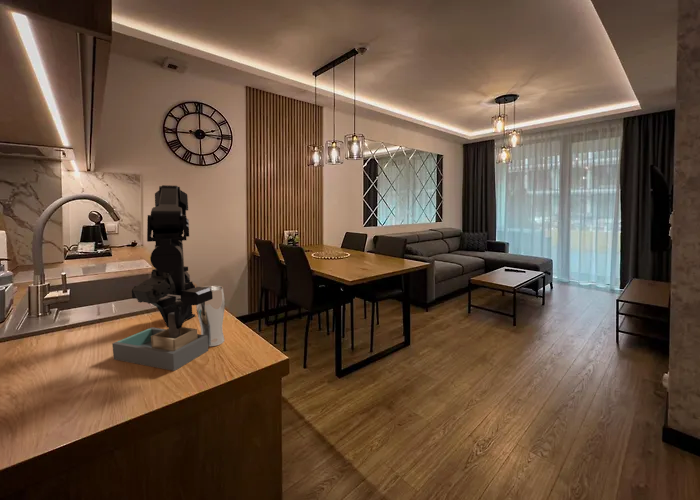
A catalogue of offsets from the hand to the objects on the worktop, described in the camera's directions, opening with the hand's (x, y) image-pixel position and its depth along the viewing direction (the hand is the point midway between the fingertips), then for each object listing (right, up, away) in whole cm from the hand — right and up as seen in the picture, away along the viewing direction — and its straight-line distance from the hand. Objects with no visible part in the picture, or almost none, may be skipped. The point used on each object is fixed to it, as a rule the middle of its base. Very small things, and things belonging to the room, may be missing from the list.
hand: (174, 327), depth 80 cm
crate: (0, -6, +1) cm, 6 cm away
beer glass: (+5, -6, +10) cm, 13 cm away
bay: (-4, -7, +2) cm, 9 cm away
